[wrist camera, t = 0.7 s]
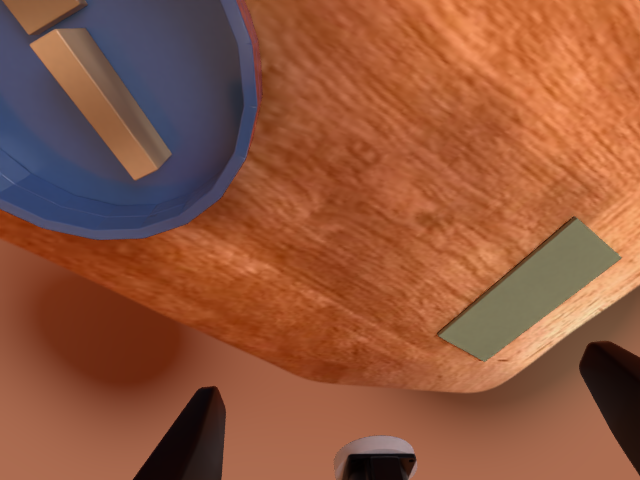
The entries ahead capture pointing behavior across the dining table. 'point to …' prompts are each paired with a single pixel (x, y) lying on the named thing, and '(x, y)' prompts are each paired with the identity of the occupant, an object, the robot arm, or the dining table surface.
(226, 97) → the bowl
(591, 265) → the mat
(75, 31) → the beige slabs
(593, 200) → the dining table surface
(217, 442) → the robot arm
